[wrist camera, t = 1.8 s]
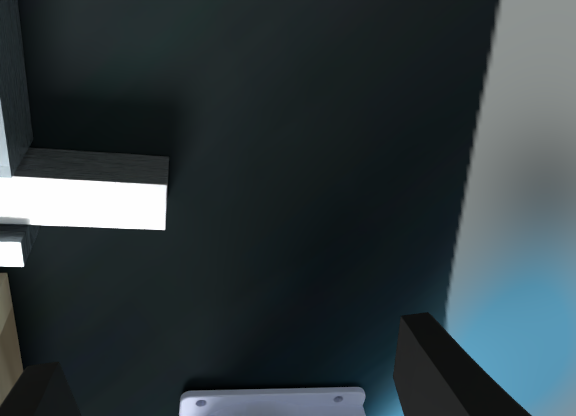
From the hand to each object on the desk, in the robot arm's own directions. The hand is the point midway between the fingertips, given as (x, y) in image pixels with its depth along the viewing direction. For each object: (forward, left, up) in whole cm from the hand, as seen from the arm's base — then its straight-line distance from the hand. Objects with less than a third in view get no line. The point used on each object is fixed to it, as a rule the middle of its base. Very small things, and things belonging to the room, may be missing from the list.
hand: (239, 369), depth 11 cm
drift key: (+5, +1, -10) cm, 11 cm away
